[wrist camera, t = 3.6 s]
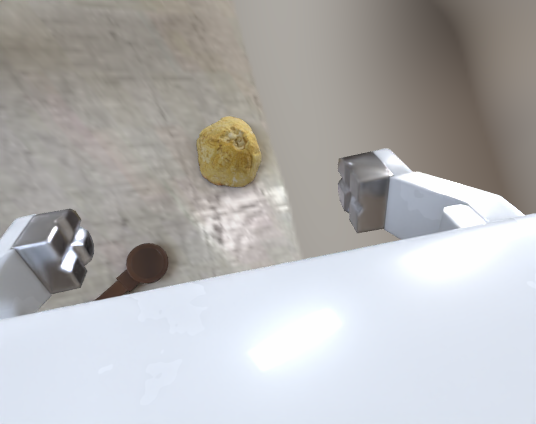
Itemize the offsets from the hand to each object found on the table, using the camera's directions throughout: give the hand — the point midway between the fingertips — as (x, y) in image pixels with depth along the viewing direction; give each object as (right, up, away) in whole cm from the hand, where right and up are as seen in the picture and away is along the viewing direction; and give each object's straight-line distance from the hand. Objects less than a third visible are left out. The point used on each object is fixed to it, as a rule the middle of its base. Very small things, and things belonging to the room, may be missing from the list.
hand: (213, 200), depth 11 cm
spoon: (-19, -12, +32) cm, 39 cm away
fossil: (-5, +9, +42) cm, 43 cm away
